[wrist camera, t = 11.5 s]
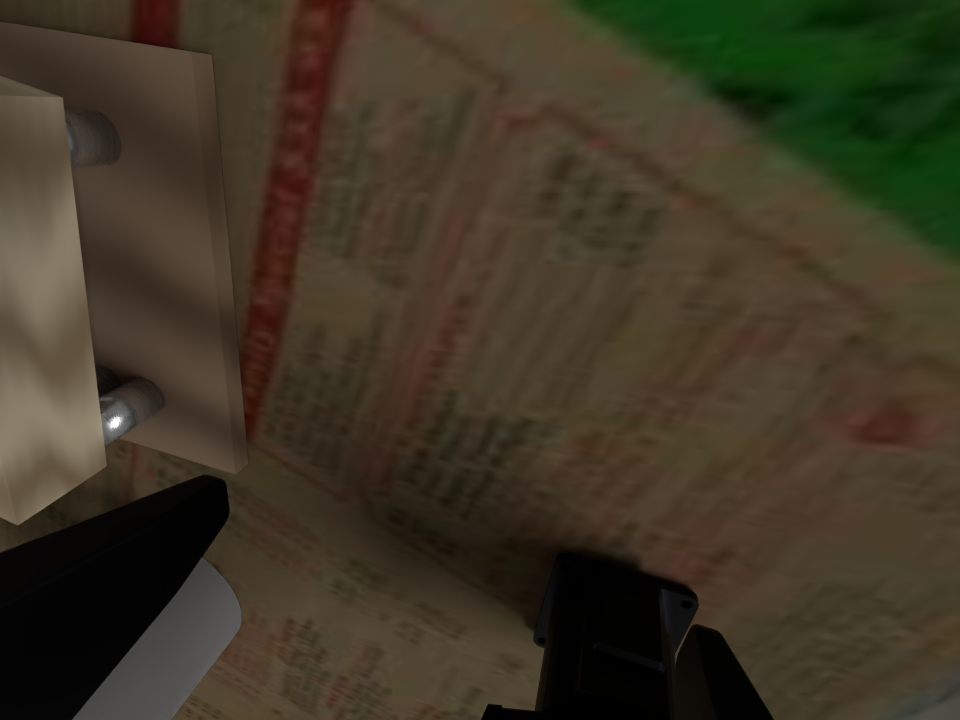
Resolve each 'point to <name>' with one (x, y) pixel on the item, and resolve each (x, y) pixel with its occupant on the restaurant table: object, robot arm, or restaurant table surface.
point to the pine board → (42, 313)
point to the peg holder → (148, 236)
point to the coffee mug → (170, 652)
